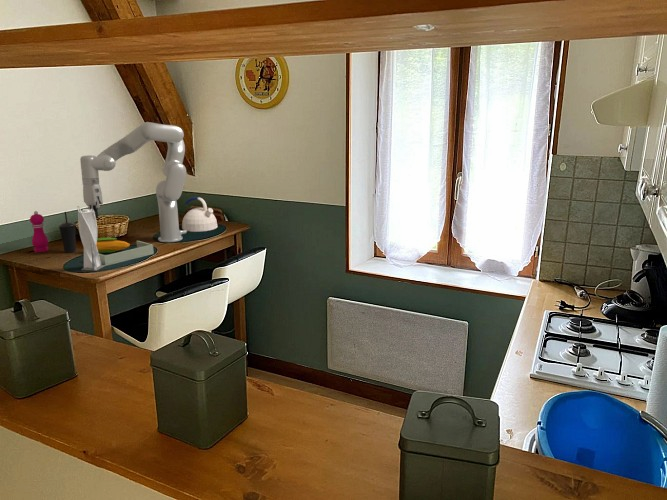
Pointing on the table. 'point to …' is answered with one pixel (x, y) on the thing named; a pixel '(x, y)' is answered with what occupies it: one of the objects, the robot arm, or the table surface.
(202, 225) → the kettle
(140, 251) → the bin
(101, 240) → the corn
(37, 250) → the pepper mill
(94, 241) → the skyscraper
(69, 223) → the drinking cup
